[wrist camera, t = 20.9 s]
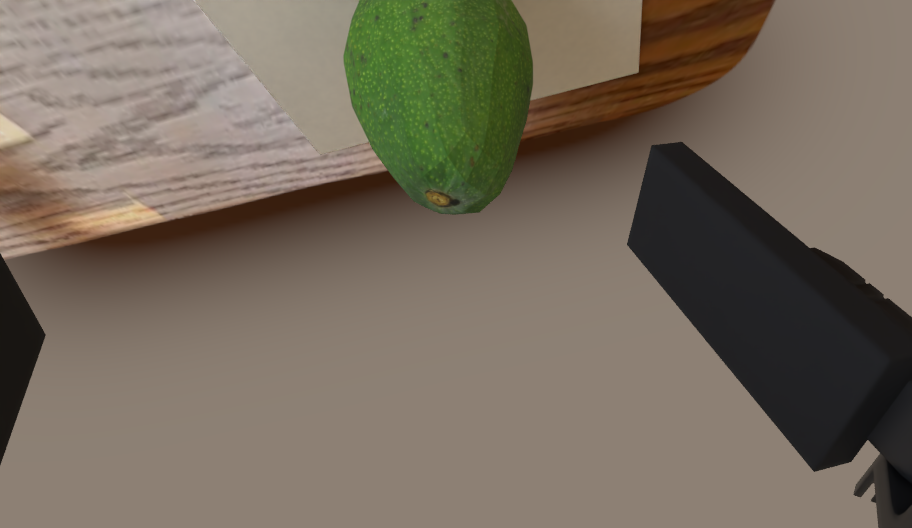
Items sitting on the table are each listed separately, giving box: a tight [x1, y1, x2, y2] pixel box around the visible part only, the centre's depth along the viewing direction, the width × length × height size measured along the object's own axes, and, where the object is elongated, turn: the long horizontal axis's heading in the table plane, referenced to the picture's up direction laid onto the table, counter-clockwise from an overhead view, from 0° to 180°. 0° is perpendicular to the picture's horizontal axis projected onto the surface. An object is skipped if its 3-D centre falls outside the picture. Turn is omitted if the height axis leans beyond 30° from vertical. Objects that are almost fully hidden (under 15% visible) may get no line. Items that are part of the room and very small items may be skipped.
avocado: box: [343, 0, 533, 214], centre depth 25 cm, size 8×8×12 cm
